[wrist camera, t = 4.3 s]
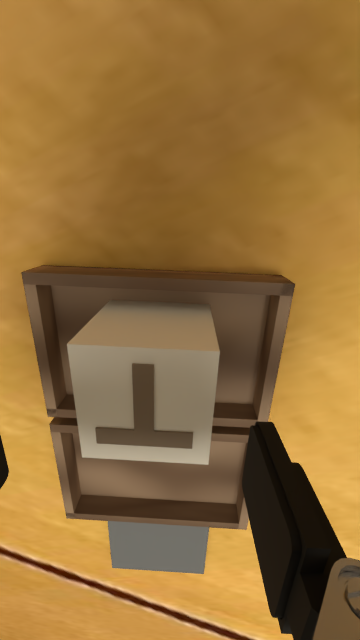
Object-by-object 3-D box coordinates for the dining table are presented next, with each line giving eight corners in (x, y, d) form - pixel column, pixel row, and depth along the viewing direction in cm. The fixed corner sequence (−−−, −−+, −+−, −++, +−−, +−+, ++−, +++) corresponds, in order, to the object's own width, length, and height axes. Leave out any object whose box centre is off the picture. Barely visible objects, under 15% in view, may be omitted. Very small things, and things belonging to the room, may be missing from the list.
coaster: (107, 501, 21) (106, 506, 21) (210, 507, 21) (210, 512, 21) (113, 562, 25) (112, 567, 24) (203, 568, 24) (203, 573, 24)
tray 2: (64, 403, 18) (49, 424, 16) (257, 413, 18) (265, 436, 16) (77, 491, 21) (66, 518, 19) (241, 502, 21) (246, 529, 19)
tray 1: (43, 265, 15) (21, 272, 13) (281, 275, 14) (295, 284, 12) (62, 395, 18) (47, 416, 16) (258, 406, 18) (266, 428, 16)
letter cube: (110, 299, 15) (65, 345, 9) (209, 304, 14) (220, 352, 9) (115, 383, 17) (81, 459, 11) (202, 387, 16) (208, 466, 11)
